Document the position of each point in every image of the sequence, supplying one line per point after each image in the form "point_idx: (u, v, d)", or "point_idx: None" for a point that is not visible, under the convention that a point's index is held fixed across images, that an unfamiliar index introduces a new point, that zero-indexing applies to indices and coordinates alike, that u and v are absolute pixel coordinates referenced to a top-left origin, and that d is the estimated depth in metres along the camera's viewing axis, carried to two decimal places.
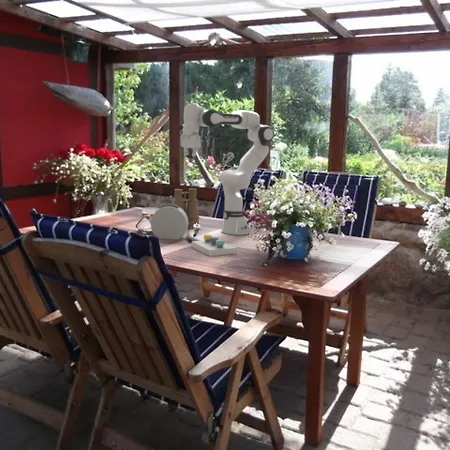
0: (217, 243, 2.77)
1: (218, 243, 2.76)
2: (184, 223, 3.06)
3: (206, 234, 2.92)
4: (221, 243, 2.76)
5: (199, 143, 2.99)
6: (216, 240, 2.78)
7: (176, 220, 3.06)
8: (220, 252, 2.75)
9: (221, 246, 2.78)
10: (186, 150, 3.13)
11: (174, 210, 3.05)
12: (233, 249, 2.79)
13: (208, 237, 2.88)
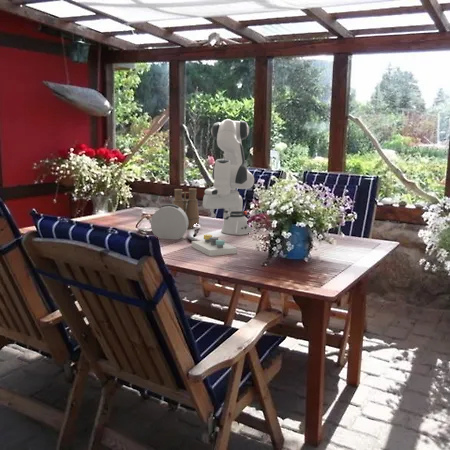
0: (217, 243, 2.77)
1: (218, 243, 2.76)
2: (184, 223, 3.06)
3: (206, 234, 2.92)
4: (221, 243, 2.76)
5: None
6: (216, 240, 2.78)
7: (176, 220, 3.06)
8: (220, 252, 2.75)
9: (221, 246, 2.78)
10: None
11: (174, 210, 3.05)
12: (233, 249, 2.79)
13: (208, 237, 2.88)
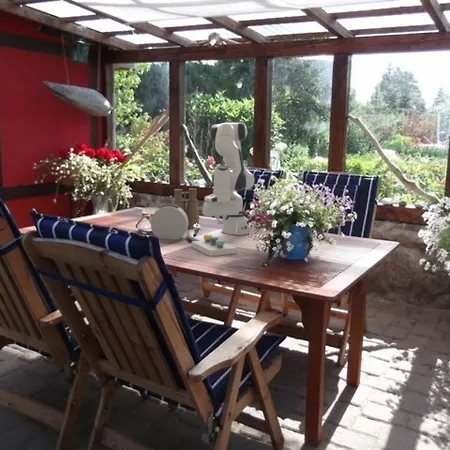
0: (217, 243, 2.77)
1: (218, 243, 2.76)
2: (184, 223, 3.06)
3: (206, 234, 2.92)
4: (221, 243, 2.76)
5: None
6: (216, 240, 2.78)
7: (176, 220, 3.06)
8: (220, 252, 2.75)
9: (221, 246, 2.78)
10: None
11: (174, 210, 3.05)
12: (233, 249, 2.79)
13: (208, 237, 2.88)
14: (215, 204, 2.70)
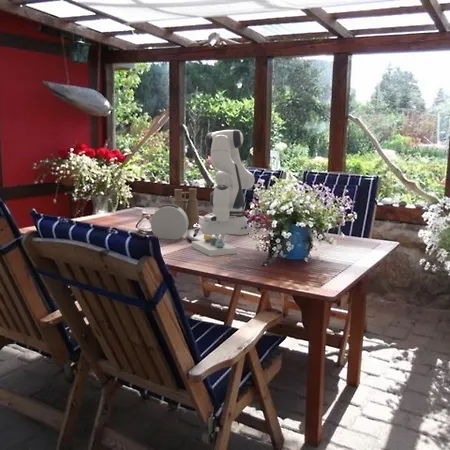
0: (217, 245, 2.77)
1: (218, 245, 2.76)
2: (184, 223, 3.06)
3: None
4: (221, 245, 2.76)
5: None
6: (216, 242, 2.79)
7: (176, 220, 3.06)
8: (220, 252, 2.75)
9: None
10: None
11: (174, 210, 3.05)
12: (233, 249, 2.79)
13: (208, 237, 2.88)
14: (214, 223, 2.72)
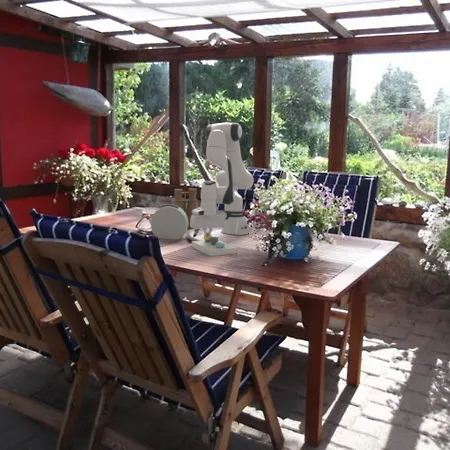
0: (217, 246, 2.77)
1: (218, 246, 2.77)
2: (184, 223, 3.06)
3: None
4: (221, 246, 2.77)
5: None
6: (216, 243, 2.79)
7: (176, 220, 3.06)
8: (220, 252, 2.75)
9: None
10: None
11: (174, 210, 3.05)
12: (233, 249, 2.79)
13: (208, 237, 2.88)
14: (202, 217, 2.84)
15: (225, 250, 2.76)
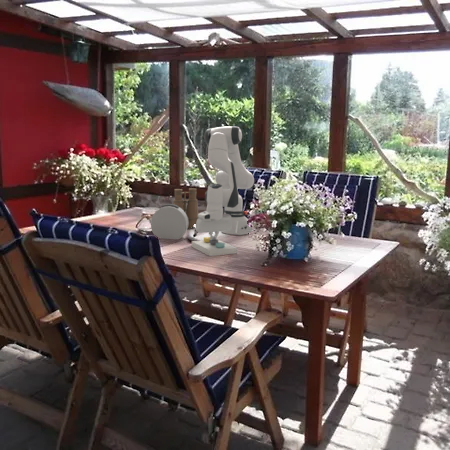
0: (217, 246, 2.77)
1: (218, 246, 2.77)
2: (184, 223, 3.06)
3: (206, 237, 2.93)
4: (221, 246, 2.77)
5: None
6: (216, 243, 2.79)
7: (176, 220, 3.06)
8: (220, 252, 2.75)
9: None
10: None
11: (174, 210, 3.05)
12: (233, 249, 2.79)
13: (208, 240, 2.88)
14: (208, 221, 2.78)
15: (225, 250, 2.76)
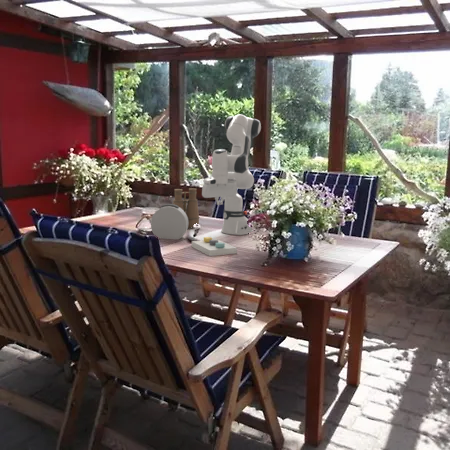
0: (217, 246, 2.77)
1: (218, 246, 2.77)
2: (184, 223, 3.06)
3: (206, 237, 2.93)
4: (221, 246, 2.77)
5: None
6: (216, 243, 2.79)
7: (176, 220, 3.06)
8: (220, 252, 2.75)
9: None
10: None
11: (174, 210, 3.05)
12: (233, 249, 2.79)
13: (208, 240, 2.88)
14: (214, 186, 2.83)
15: (225, 250, 2.76)
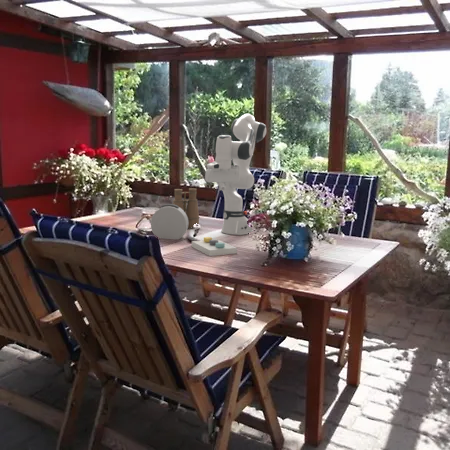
0: (217, 246, 2.77)
1: (218, 246, 2.77)
2: (184, 223, 3.06)
3: (206, 237, 2.93)
4: (221, 246, 2.77)
5: None
6: (216, 243, 2.79)
7: (176, 220, 3.06)
8: (220, 252, 2.75)
9: None
10: None
11: (174, 210, 3.05)
12: (233, 249, 2.79)
13: (208, 240, 2.88)
14: (217, 171, 2.85)
15: (225, 250, 2.76)
